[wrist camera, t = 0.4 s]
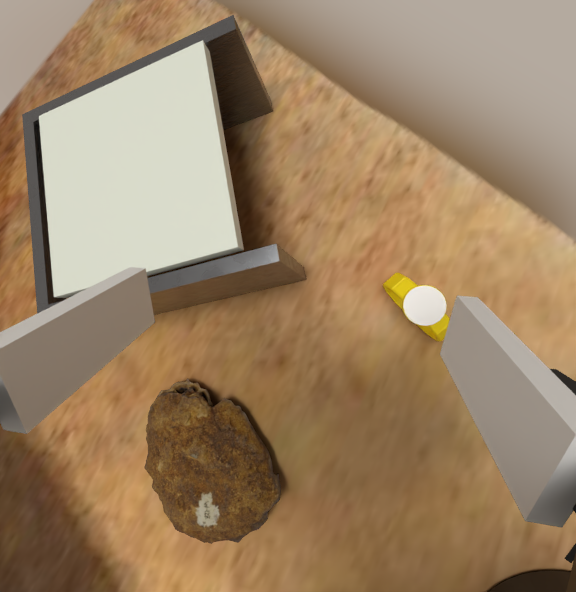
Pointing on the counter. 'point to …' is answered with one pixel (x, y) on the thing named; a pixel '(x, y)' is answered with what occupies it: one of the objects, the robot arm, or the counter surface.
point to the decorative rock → (208, 465)
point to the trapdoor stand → (234, 110)
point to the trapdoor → (139, 175)
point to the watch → (420, 305)
